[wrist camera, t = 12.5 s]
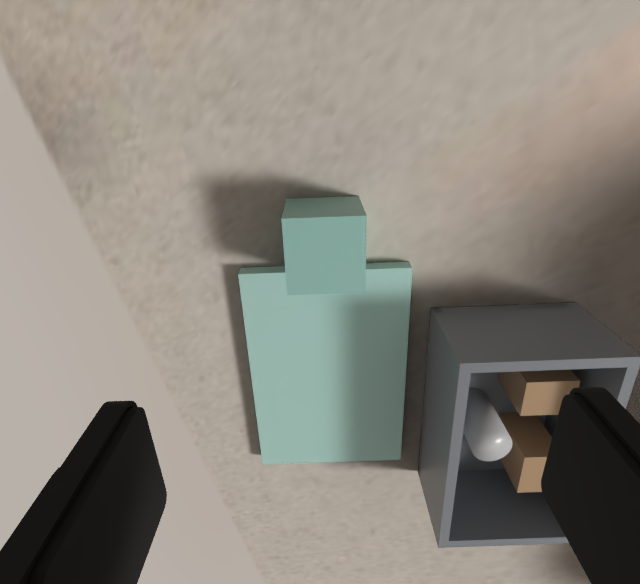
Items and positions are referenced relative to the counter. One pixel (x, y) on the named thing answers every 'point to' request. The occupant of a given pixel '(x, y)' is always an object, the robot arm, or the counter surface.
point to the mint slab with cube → (327, 340)
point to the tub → (506, 413)
